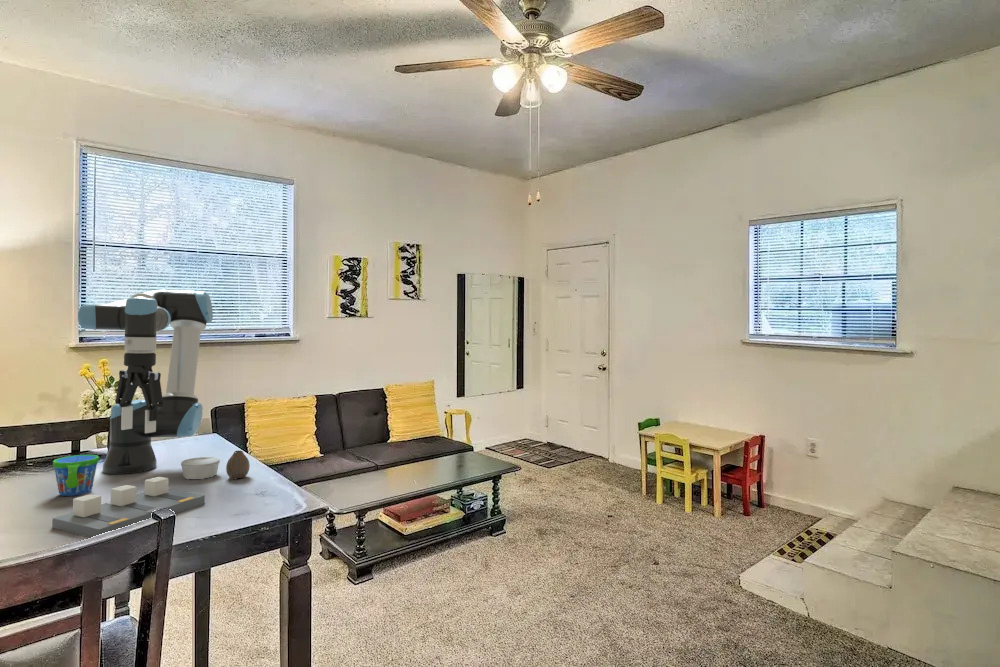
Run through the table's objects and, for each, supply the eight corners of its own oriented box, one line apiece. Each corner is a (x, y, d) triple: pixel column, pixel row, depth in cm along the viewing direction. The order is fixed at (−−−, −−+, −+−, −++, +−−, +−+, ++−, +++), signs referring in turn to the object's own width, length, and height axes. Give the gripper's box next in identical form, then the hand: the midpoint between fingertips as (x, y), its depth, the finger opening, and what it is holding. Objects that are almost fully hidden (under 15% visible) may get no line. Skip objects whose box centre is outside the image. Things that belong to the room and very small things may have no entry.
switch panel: (52, 527, 129) (52, 517, 129) (161, 495, 155) (162, 486, 155) (98, 539, 123) (99, 528, 123) (204, 503, 149) (204, 494, 149)
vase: (231, 474, 178) (231, 448, 178) (252, 474, 179) (253, 448, 179) (222, 480, 171) (222, 453, 171) (244, 480, 172) (245, 453, 172)
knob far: (144, 494, 148) (144, 480, 148) (158, 490, 151) (158, 476, 151) (154, 496, 146) (154, 482, 146) (168, 492, 150) (168, 478, 150)
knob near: (72, 514, 131) (73, 498, 131) (90, 509, 134) (90, 494, 134) (83, 517, 129) (83, 501, 129) (100, 512, 133) (101, 496, 133)
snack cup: (61, 487, 160) (61, 453, 160) (103, 483, 164) (104, 451, 164) (43, 503, 146) (44, 466, 146) (91, 499, 150) (91, 463, 150)
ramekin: (213, 470, 183) (213, 454, 183) (224, 477, 175) (224, 461, 175) (176, 475, 176) (177, 459, 175) (185, 483, 168) (186, 466, 168)
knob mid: (110, 504, 139) (111, 488, 139) (126, 499, 143) (126, 484, 143) (121, 506, 138) (121, 490, 138) (136, 501, 141) (136, 486, 141)
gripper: (100, 350, 152) (99, 429, 152) (154, 354, 144) (152, 436, 144) (127, 350, 159) (125, 425, 159) (179, 353, 151) (177, 432, 151)
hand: (138, 430), depth 151 cm, fingers open, 9 cm apart
